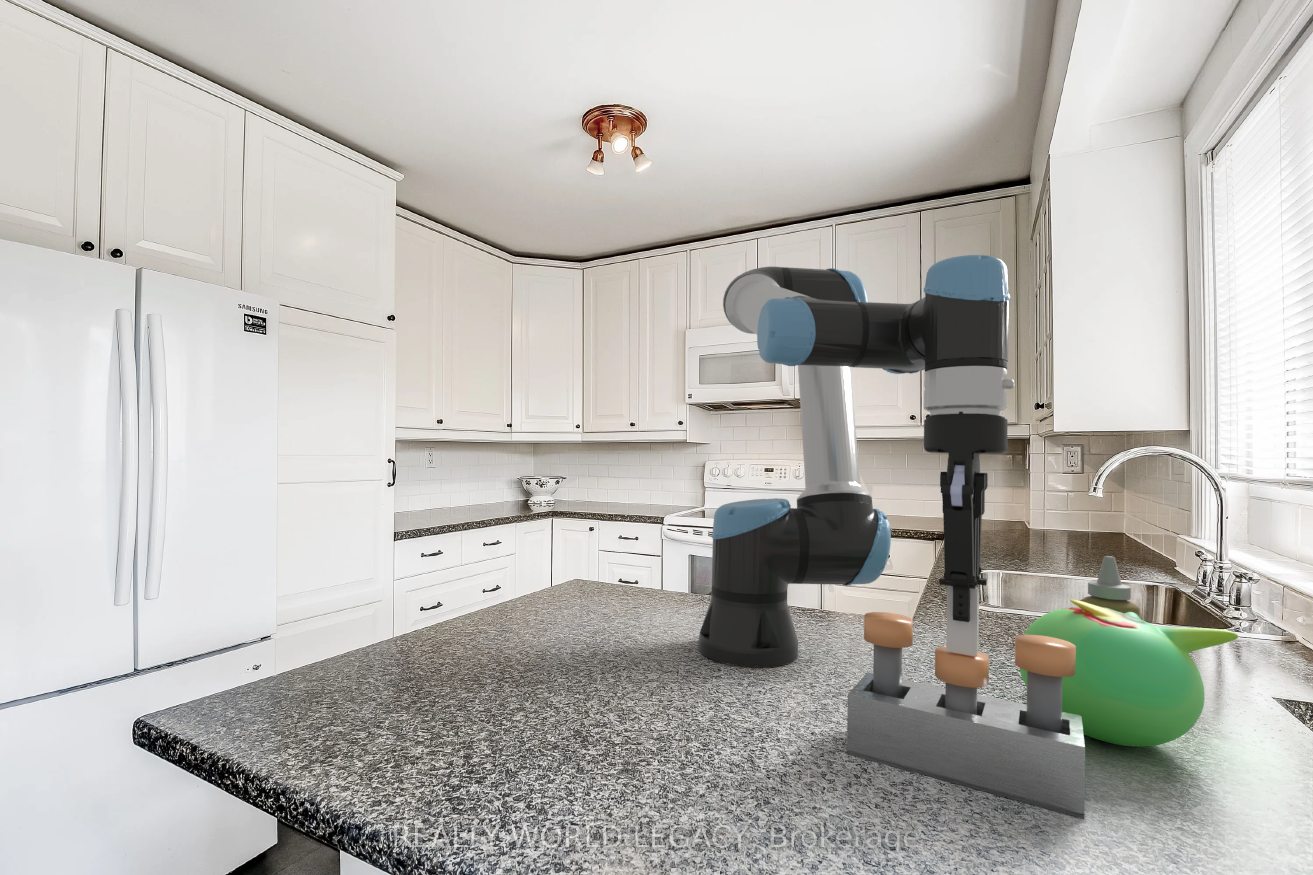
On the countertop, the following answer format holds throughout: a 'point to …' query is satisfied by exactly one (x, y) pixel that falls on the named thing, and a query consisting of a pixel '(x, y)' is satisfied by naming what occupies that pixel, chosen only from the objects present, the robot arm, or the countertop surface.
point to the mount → (970, 744)
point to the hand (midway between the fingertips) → (962, 651)
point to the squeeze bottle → (1110, 590)
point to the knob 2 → (1045, 677)
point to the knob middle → (961, 678)
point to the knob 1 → (888, 649)
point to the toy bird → (1129, 673)
